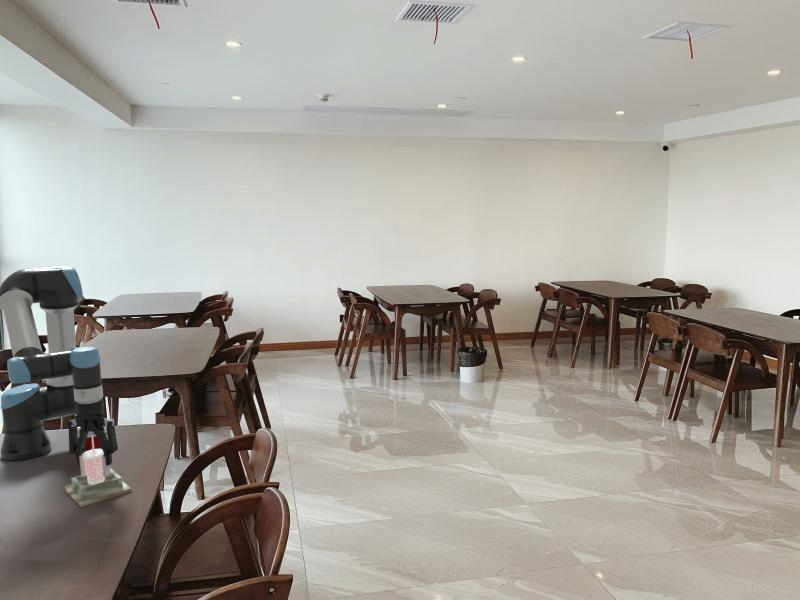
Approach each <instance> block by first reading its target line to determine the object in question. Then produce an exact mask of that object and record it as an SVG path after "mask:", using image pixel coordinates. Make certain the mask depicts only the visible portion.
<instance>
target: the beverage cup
mask: <svg viewBox="0 0 800 600" xmlns="http://www.w3.org/2000/svg"><path fill="white" fill-rule="evenodd" d="M91 437H92V448H93V449H92V450H89V451H86V452H84V453H83V454H82V456H83V458H84V463H85V469H86V475H87V481H88V484H90V485H94V484H98V483H101V482H104V481H105V477H104V476H103V465H102V456H103V455H104V453H103V450H102V449H94V439H93V436H91Z"/></svg>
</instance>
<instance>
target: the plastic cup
mask: <svg viewBox="0 0 800 600" xmlns="http://www.w3.org/2000/svg"><path fill="white" fill-rule="evenodd" d="M106 428H107V427H104V432H105V434H106V435H107V430H106ZM79 432H80V429H77V439H78V440H79V436H80V434H79ZM91 436H93V439H94V449H102V448H101V446H100V443H99V441H98V438H97V436H96V435H95V434H94V432H91V431H89V432H88V435H87V440H86V444H85V448H84V452H86V451H89V450H92V449H93V448H92V437H91ZM84 452H83V453H84Z"/></svg>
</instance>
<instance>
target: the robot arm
mask: <svg viewBox="0 0 800 600" xmlns="http://www.w3.org/2000/svg"><path fill="white" fill-rule="evenodd" d="M83 294H84V293H83V288H82V282H81V280H80V276H79V274H78V272H77V270H76V269H75V268H74V267H72V266H48V267H37V268H23V269H19V270H16V271H15V272H13V273H11V274H10V275H8V276H7V277H6V278H5V279H4V280H3V281H2V282H1V285H0V310H1V311H2V312H3V314H4V319H5V320H4V321H5V324H6V329H7V333H8V340H9V343H10V347H11V353H12V356H13V357H11V358H9V359H7V362H6V363H7V364H6V366H7V372H8V380H9V381H10V383H11V384H21V385H18V386H14V387H12V388H10V389H8V390H5V391H4V392H2V394H1V396H0V409H1V413H2V421H3V422H2V424H3V432H4V433H3V434H4V436H3V438H2V442H1V447H0V458H1V460H3V459H4V461H13V462H15V461H24V460H29V459H34V458H37V457H41V456H42V455H43V456H44V455H45V454H47V453H48V452H50V451H51V450H52V441H51V440H50V437H49V436H48V434H47V432H46V429H45V427H44V421H47V420H52V419H57V418H64V417H70V416H76V417H75V418H72V419H70V420H68V421H67V422H66V426H67V427H66V428H67V429H68V450H69V451H68V453H69V454H71V455H72V454H73V455H75V456H76V461H77V462H76V465H78V466H79V467H80V475H81V477H85V476H86V469H85V463H84V458H83V456H82V454H83V452H84V448H85V444H86V440H87V435H88V432H89V431H91V432H94V434H95V435H96V436H97V438H98V441H99V443H100V446H101V448H102V450H103V453H104V455H103V456H102V465H103V476H104V477H107V476H108V475H109V474H110V473H111V472H110V468H111V465H112V464H113V455H112V454H114V453H115V452H116V451H118V450H119V446H118V440H117V434H116V428H115V427H116V426H115V425H116V418H112V419H110V418H107V417H106V416H105V403H104V399H103V397H104V391H103V381H102V372H101V357H100V352H99V348H98V347H94V346H81V347H78V346H77V344H76V343H77V341H76V339H77V337H76V326H75V313H74V310H75V309H76V308H77V307H78V306H79V301H80V300H82V299H83V298H84V295H83ZM33 304H39V308H40V309H41V310H43V311H44V313H45V322H46V323H45V324H46V335H47V346H48V347H47V349H48V352H47V353H43V349H42V345H41V341H40V337H39V334H38V329H37V325H36V321H35V317H34V313H33V310H32V309H33V308H32V306H33ZM44 380H46V381H45V383H46V386H41V387H40V384H38V383H32V382H38V381H44ZM104 424H105V425H104ZM78 426H79V428H80V429H79V430H80V432H79V434H80V436H79V440H78V439H77V430H78ZM104 426H105V427H104ZM104 428H106V430H107V434H105V432H104Z"/></svg>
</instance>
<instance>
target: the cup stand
mask: <svg viewBox="0 0 800 600" xmlns="http://www.w3.org/2000/svg"><path fill="white" fill-rule="evenodd" d="M110 472H111V473H110V474H109V475H108V476H107V477H105V481H104V482H101V483H98V484H94V485H90V484H88V481H87V475H86V476H85V477H81V474H79V475H76V476H73V477H70V484H67V485H65V486H63V490H64V491H65V492H66V493H67V495H68V496H71V497H72V498H73V499H74V500H75V501H74V500H73V499H72V498H71V497H70V498H71V499H72V500H73V501H74V502H75V504H76V505H78V507H79V506H80V507H79V508H84V507H86V506H90V505H92V504H96V503H99V502H102V501H106V500H108V499H111V498H112V499H113V498H115V497H118V496H121V495H124V494H128V493H131V492H132V487H130V486H129V485H127V483H126V482H124V481H123V478H122V476H121V475H119V474H118V472H116V471H115V470H114V469H112V468H111V467H110Z"/></svg>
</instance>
